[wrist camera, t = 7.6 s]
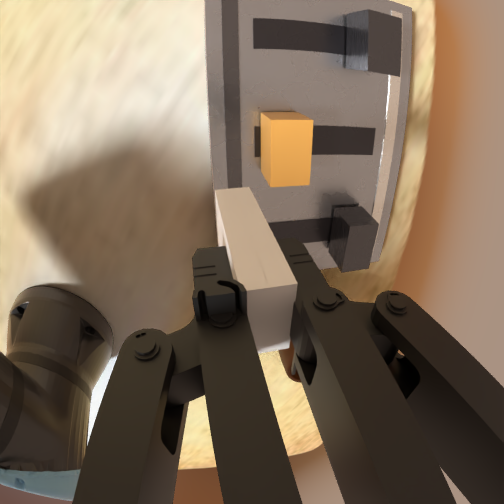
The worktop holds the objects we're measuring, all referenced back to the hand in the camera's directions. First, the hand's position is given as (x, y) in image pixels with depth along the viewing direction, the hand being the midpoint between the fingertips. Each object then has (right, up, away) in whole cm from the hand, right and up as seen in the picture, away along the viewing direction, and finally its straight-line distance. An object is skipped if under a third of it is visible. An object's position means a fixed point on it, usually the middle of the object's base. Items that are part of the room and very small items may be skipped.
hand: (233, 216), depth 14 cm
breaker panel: (+6, +9, +12) cm, 16 cm away
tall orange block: (+3, +7, +10) cm, 13 cm away
